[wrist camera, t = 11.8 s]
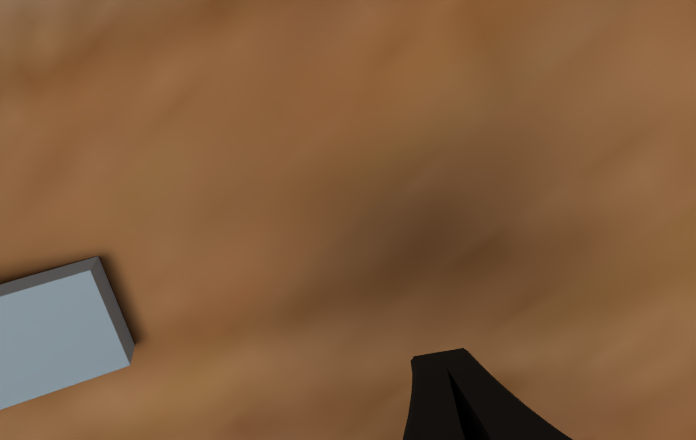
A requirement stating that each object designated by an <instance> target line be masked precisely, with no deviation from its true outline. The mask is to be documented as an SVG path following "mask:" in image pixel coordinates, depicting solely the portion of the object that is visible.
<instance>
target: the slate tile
mask: <svg viewBox="0 0 696 440" xmlns="http://www.w3.org/2000/svg"><path fill="white" fill-rule="evenodd" d="M134 347H135V344H134V342H133V340H132V337H131V335H130V332H129V330H128V327H127V325H126V323H125V320H124V318H123V315H122V313H121V310H120V308H119V306H118V303H117V301H116V298H115V296H114V293H113V291H112V289H111V286H110V284H109V281H108V279H107V276H106V274H105V271H104V269H103V267H102V264H101V262H100V259H99V257H98V256H97V257H93V258H90V259H86V260H83V261H80V262H76V263H73V264H69V265H66V266H62V267H59V268H55V269H52V270H49V271H45V272H42V273H38V274H35V275H31V276H28V277H24V278H21V279H17V280H14V281H11V282H7V283H4V284H0V410H1V409H4V408H7V407H10V406H13V405H16V404H18V403H21V402H24V401H27V400H30V399H33V398H36V397H39V396H42V395H45V394H48V393H51V392H54V391H57V390H60V389H62V388H65V387H68V386H71V385H74V384H77V383H80V382H83V381H86V380H89V379H92V378H95V377H98V376H101V375H103V374H106V373H109V372H112V371H115V370H118V369H121V368H124V367H127V366H130V364H131V360H132V355H133V351H134Z"/></svg>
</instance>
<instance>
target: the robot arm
mask: <svg viewBox="0 0 696 440" xmlns="http://www.w3.org/2000/svg"><path fill="white" fill-rule="evenodd" d="M411 367H412V394H411V400H410V407H409V414H408V419H407V423H406V427H405V432H404V436H403V440H572V439H571V438H569V437H568V436H566V435H565V434H563V433H562V432H560V431H559V430H558V429H556V428H555V427H553V426H552V425H551V424H549V423H548V422H547V421H545V420H544V419H543V418H541V417H540V416H539V415H537V414H536V413H535V412H533V411H532V410H531V409H530V408H528V407H527V406H526V405H525V404H524V403H522V402H521V401H520V400H519V399H518V398H516V397H515V396H514V395H513V394H512V393H511V392H509V391H508V390H507V389H506V388H505V387H504V386H503V385H501V384H500V383H499V382H498V381H497V380H496V379H495V378H494V377H493V376H492V375H491V374H490V373H489V372H488V371H487V370H486V369H485V368H484V367H483V366H482V365H481V364H480V363H479V362H478V361H477V360H476V359H475V358H474V357H473V356H472V355H471V354H470V353H469V352H468V351H467V350H465V349H464V348H461V349H455V350H449V351H443V352H437V353H431V354H425V355H419V356H414V357H413V359H412V360H411Z"/></svg>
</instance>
